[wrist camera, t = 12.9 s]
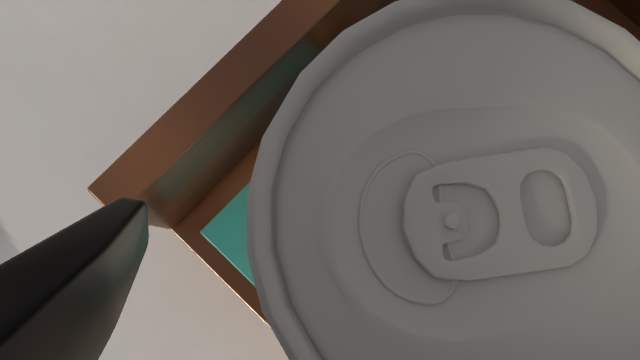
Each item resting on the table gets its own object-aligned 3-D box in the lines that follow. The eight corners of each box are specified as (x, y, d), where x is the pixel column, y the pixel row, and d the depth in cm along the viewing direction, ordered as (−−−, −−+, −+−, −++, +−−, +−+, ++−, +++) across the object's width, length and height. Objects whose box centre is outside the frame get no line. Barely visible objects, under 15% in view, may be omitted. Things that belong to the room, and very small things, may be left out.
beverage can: (275, 179, 17) (204, 3, 5) (425, 157, 17) (686, -59, 5) (297, 335, 16) (272, 538, 5) (453, 310, 17) (816, 445, 5)
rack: (369, 410, 19) (415, 518, 11) (172, 215, 20) (85, 188, 12) (771, -40, 22) (1030, -205, 14) (584, -196, 23) (731, -435, 15)
